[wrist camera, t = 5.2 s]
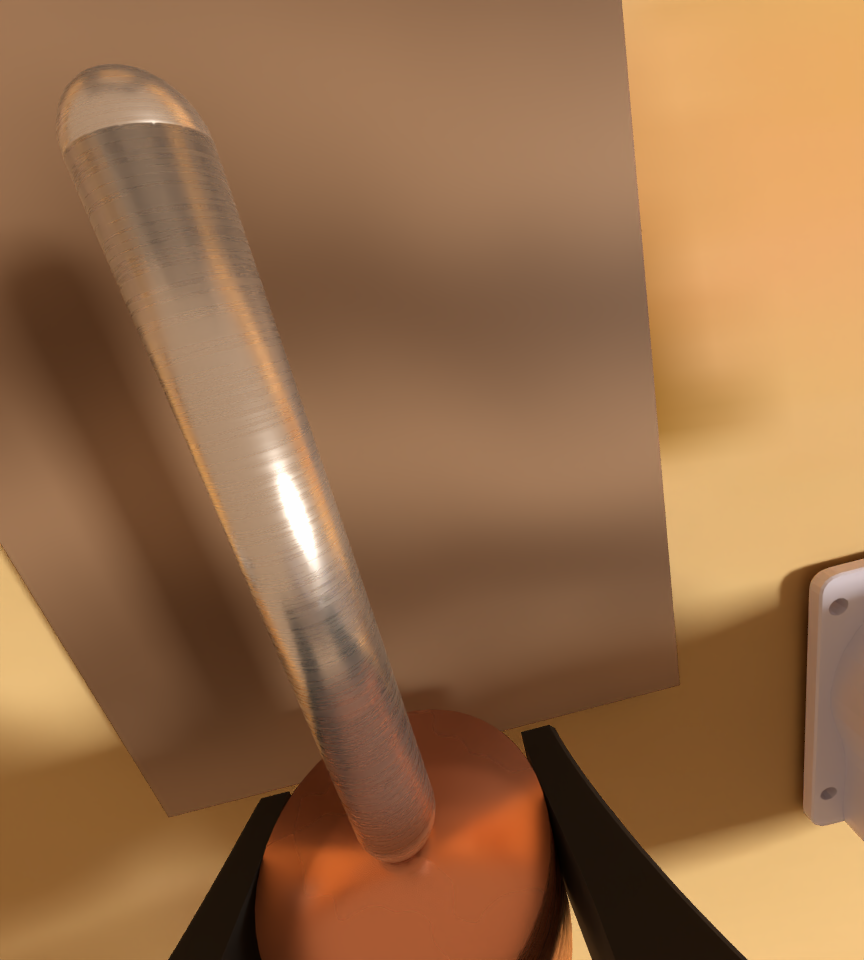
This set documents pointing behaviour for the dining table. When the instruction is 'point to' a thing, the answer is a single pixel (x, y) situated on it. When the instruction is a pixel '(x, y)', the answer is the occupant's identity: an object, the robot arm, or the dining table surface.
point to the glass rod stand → (307, 583)
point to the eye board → (349, 367)
